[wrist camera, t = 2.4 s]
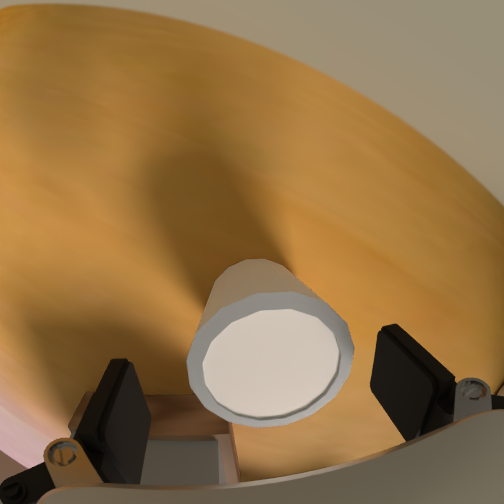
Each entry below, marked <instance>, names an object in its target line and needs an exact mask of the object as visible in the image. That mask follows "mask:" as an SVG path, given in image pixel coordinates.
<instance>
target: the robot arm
mask: <svg viewBox="0 0 504 504" xmlns="http://www.w3.org/2000/svg"><path fill="white" fill-rule="evenodd" d="M454 380H455V376H454V375H453V374H452V373H451V372H450V371H449V370H447V369H446V368H445V367H444V366H443V365H442V364H441V363H440V362H439V361H438V360H437V359H436V358H434V357H433V356H432V355H431V354H430V353H429V352H428V351H427V350H426V349H425V348H423V347H422V346H421V345H420V344H419V343H418V342H417V341H416V340H415V339H413V338H412V337H411V336H410V335H409V334H408V333H407V332H406V331H404V330H403V329H402V328H401V327H400V326H399V325H398V324H391V325H387V326H383V327H382V328H381V331H379V332H378V335H377V342H376V349H375V356H374V363H373V369H372V375H371V381H370V388H371V391H372V393H373V394H374V395H375V397H376V398H377V400H378V401H379V403H380V404H381V406H382V407H383V408H384V410H385V411H386V413H387V414H388V416H389V417H390V419H391V420H392V422H393V423H394V425H395V426H396V427H397V429H398V430H399V432H400V433H401V435H402V436H403V438H404V439H405V441H406V442H405V443H402V444H400V445H397V446H395V447H392V448H389V449H386V450H384V451H381V452H378V453H375V454H372V455H369V456H366V457H362V458H359V459H356V460H352V461H349V462H345V463H342V464H338V465H334V466H330V467H326V468H322V469H318V470H314V471H309V472H305V473H300V474H295V475H289V476H284V477H278V478H271V479H264V480H257V481H249V482H240V483H229V484H215V485H189V486H161V485H140V481H141V475H142V469H143V464H144V458H145V452H146V447H147V441H148V436H149V431H150V426H151V414H150V411H149V408H148V406H147V403H146V400H145V397H144V395H143V392H142V389H141V386H140V383H139V380H138V377H137V374H136V371H135V368H134V365H133V363H132V362H128V360H127V359H126V358H125V359H111V361H110V363H109V365H108V367H107V369H106V371H105V373H104V375H103V377H102V379H101V381H100V383H99V386H98V388H97V390H96V392H94V393H93V395H92V397H91V399H90V401H89V403H88V405H87V408H86V410H85V412H84V414H83V416H82V419H81V421H80V423H79V425H78V428H77V430H76V432H75V435H74V437H73V439H71V438H59V439H56V440H54V441H52V442H51V443H50V444H49V445H48V446H47V447H46V449H45V450H44V455H43V456H44V461H45V462H43V463H41V464H39V465H36V466H34V467H32V468H30V469H28V470H25V471H23V472H21V473H18V474H16V475H14V476H11V477H9V478H7V479H6V480H4V481H3V482H2V483H1V485H0V504H504V385H503V386H502V388H501V389H500V390H499V392H498V393H497V395H491V391H490V387H489V386H488V385H487V383H485V382H484V381H482V380H480V379H477V378H465V379H462V380H461V381H459V382H458V384H457V383H456V382H455V381H454Z"/></svg>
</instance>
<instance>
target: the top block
mask: <svg viewBox="0 0 504 504" xmlns="http://www.w3.org/2000/svg"><path fill="white" fill-rule="evenodd" d="M75 432H76V431H73V432H72V434H71V436H70V438H71V439H73V437H74V435H75ZM215 484H227V482H226V478H225V473H224V468H223V463H222V458H221V453H220V448H219V442H218V441H162V440H148V441H147V447H146V452H145V458H144V464H143V469H142V475H141V481H140V485H161V486H189V485H215Z"/></svg>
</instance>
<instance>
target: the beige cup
mask: <svg viewBox="0 0 504 504" xmlns="http://www.w3.org/2000/svg"><path fill="white" fill-rule="evenodd" d="M353 354H354V345H353V342H352V339H351V335H350V332H349V329H348V325H347V323H346V322H345V321H344V320H343V319H342V318H341V317H340V316H339V315H338V314H337V313H336V312H335V311H334V310H333V309H332V308H331V307H330V306H329V305H328V304H327V303H326V302H325V301H324V300H322V299H321V298H320V297H319V296H318V295H317V294H316V293H314V292H313V291H312V290H311V289H310V288H309V287H307V286H306V285H305V284H304V283H303V282H302V281H300V280H299V279H298V278H297V277H296V276H295V275H293V274H292V273H291V272H290V271H289V270H288V269H286V268H285V267H284V266H283V265H281V264H278V263H275V262H272V261H270V260H267V259H246V260H243V261H241V262H239V263H237V264H234V265H232V266H230V267H228V268H227V269H226V270H225V271H224V272H223V273H222V274H221V275H220V276H219V277H218V278H217V279H216V280H215V282H214V285H213V288H212V290H211V293H210V295H209V298H208V301H207V304H206V306H205V309H204V312H203V315H202V317H201V320H200V323H199V326H198V328H197V331H196V334H195V337H194V340H193V342H192V345H191V348H190V351H189V354H188V357H187V359H186V362H187V369H188V376H189V383H190V387H191V389H192V390H193V391H194V393H195V394H196V396H197V397H198V398H199V400H200V401H201V403H202V404H203V405H204V407H205V408H207V409H208V410H210V411H211V412H213V413H215V414H216V415H218V416H220V417H221V418H223V419H225V420H226V421H228V422H232V423H236V424H241V425H246V426H251V427H256V428H258V427H271V426H281V425H287V424H290V423H292V422H295V421H297V420H300V419H302V418H305V417H307V416H310V415H312V414H314V413H315V412H316V411H318V410H319V409H320V408H322V407H323V406H324V405H325V404H327V403H328V402H329V401H330V400H332V399H333V398H334V397H335V396H336V395H337V393H338V392H339V390H340V388H341V387H342V385H343V384H344V382H345V381H346V379H347V378H348V376H349V374H350V370H351V365H352V359H353Z"/></svg>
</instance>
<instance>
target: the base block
mask: <svg viewBox="0 0 504 504" xmlns="http://www.w3.org/2000/svg"><path fill="white" fill-rule="evenodd" d="M93 393H94V392H86V393H85V395H84V396H83V398H82V400H81V402H80V404H79V406H78V407H77V409H76V411H75V413H74V415H73V417H72V419H71V421H70V423H69V424H68V428H69V430H70V431H71V433H72V432H73V431H76V430H77V428H78V425H79V423H80V421H81V419H82V416H83V414H84V412H85V410H86V408H87V405H88V403H89V401H90V399H91V397H92V395H93ZM144 397H145V400H146V403H147V406H148V408H149V411H150V414H151V426H150V431H149V436H148V440H162V441H218V442H219V448H220V453H221V458H222V463H223V468H224V473H225V478H226V482H227V484H229V483H240V482H241V475H240V469H239V463H238V458H237V452H236V446H235V440H234V434H233V427H232V422H228V421H226V420H225V419H223V418H221V417H220V416H218V415H216V414H215V413H213V412H211V411H210V410H208V409H207V408H205V407H204V405H203V404H202V403H201V401H200V400H199V398H198V397H197V396H196V394H193V395H144Z"/></svg>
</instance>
